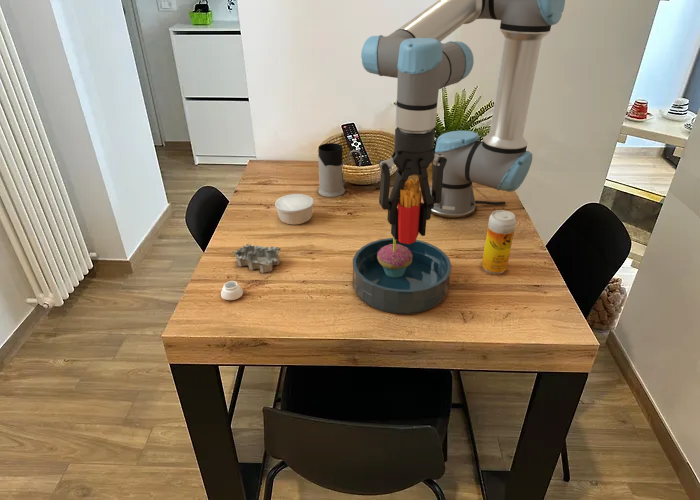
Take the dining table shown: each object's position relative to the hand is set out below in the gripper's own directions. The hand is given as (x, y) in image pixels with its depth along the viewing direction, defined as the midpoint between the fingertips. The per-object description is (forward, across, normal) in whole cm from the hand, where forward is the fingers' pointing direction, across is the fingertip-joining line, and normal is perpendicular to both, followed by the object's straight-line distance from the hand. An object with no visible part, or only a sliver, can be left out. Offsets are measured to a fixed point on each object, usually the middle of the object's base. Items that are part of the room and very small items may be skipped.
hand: (408, 234), depth 106 cm
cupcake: (+16, 0, -9) cm, 18 cm away
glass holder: (+17, +2, -59) cm, 62 cm away
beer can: (+17, -26, -6) cm, 31 cm away
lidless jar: (+17, +38, -10) cm, 43 cm away
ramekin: (+17, +18, -44) cm, 51 cm away
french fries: (0, 0, 0) cm, 0 cm away
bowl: (+16, -1, -4) cm, 17 cm away
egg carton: (+17, +31, -22) cm, 42 cm away
